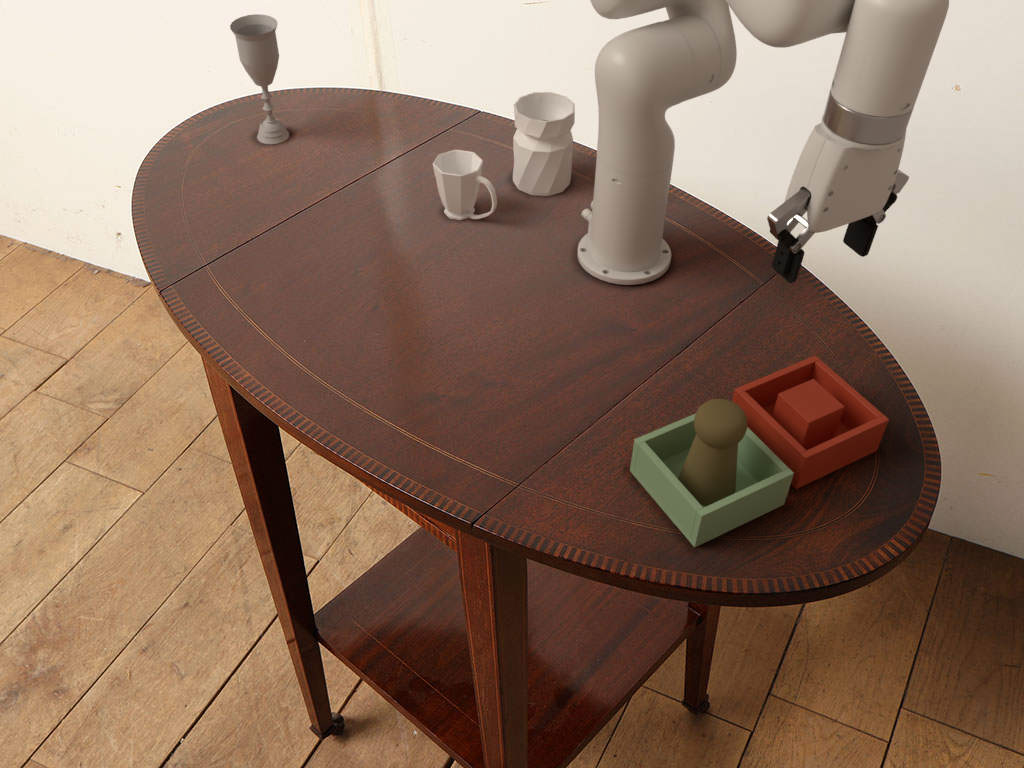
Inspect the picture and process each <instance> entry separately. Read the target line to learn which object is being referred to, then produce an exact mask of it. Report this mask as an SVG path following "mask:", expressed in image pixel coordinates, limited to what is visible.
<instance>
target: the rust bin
mask: <svg viewBox="0 0 1024 768" xmlns="http://www.w3.org/2000/svg"><path fill="white" fill-rule="evenodd" d="M812 379H814V380H815V381H816V382H818V383H819V384H820V385H821V386H822V387H823V388H824V389H825V390H827V391H828V392H829V393H830V394H831V395H832V396H833V397H834V398H836V399H837V400H838V401H839V402H840V403H841V404H842V405H843V406H844V410H843V413H842V416H841V419H840V422H839V425H838V428H837V430H836V433H835V436H834V438H833V439H831V440H828V441H826V442H824V443H822V444H820V445H818V446H815V447H813V448H811V449H809V450H807V451H806V449H805V448H803V447H802V446H801V445H800V444H799V443H798V442H797V441H796V440H795V439H794V438H793V437H792V436H791V435H790V434H789V433H788V432H787V431H786V430H785V429H784V428H783V427H782V426H781V425H780V424H779V423H778V422H777V421H776V420H774V419H773V418H772V415H773V412H774V408H775V404H776V401H777V397H778V394H779V393H781V392H784V391H786V390H788V389H791V388H793V387H795V386H798V385H800V384H802V383H805V382H807V381H809V380H812ZM731 401H733V402H734V403H736V404H738V405H739V406H740V407H741V408H742V409H743V411H744V413H745V415H746V417H747V427H748V428H749V429H750V430H751V431H752V432H753V433H754V434H755V435H756V436H757V437H758V438H759V439H760V440H761V441H762V442H763V443H764V444H765V445H766V446H767V447H768V448H769V449H770V450H771V451H772V452H773V453H774V454H775V455H776V456H777V457H778V458H779V459H780V460H781V461H782V462H783V463H784V464H785V465H786V466H787V467H788V468H789V469H790V470H791V471H792V472H793V473H794V475H793V478H792V481H791V484H790V486H791V487H792V488H793V489H795V490H798V489H800V488H802V487H804V486H807V485H809V484H810V483H812V482H814V481H816V480H817V481H818V480H819V479H821V478H823V477H825V476H827V475H829V474H831V473H833V472H835V471H838V470H840V469H842V468H844V467H846V466H848V465H850V464H852V463H855V462H857V461H859V460H861V459H863V458H865V457H867V456H868V455H871V454H874V453H875V452H878V448H879V446H880V443H881V441H882V438H883V436H884V435H885V434H884V433H885V431H886V428H887V426H888V424H889V421H890V419H889V418H888V416H886V415H885V414H883V413H882V412H881V411H880V410H879V409H878V408H877V407H875V406H874V405H873V404H872V403H871V402H869V400H867V399H866V398H865V397H864V396H863V395H862V394H861V393H859V392H858V391H857V390H856V389H854V388H853V387H852V386H851V385H850V384H849V383H848V382H847V381H846V380H844V379H843V378H842V377H841V376H840V375H839V374H838V373H836V372H835V371H834V370H833V369H832V368H830V366H828V365H827V364H826V363H825V362H824V361H822V360H821V359H820V358H819V357H818V356H817V355H812V356H810V357H809V358H806V359H803V360H801V361H799V362H796V363H794V364H791V365H789V366H786V367H783V368H782V369H779V370H777V371H775V372H774V371H773V372H772V373H770V374H768V375H765V376H763V377H760V378H758V379H755V380H753V381H750V382H749V383H745V384H743V385H741V386H738V387H736V388H735V389H734V391H733V396H732V399H731Z"/></svg>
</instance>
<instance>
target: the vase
mask: <svg viewBox="0 0 1024 768" xmlns="http://www.w3.org/2000/svg"><path fill="white" fill-rule="evenodd" d="M575 105H576V104H575V103H574V102H573V101H572V100H571V99H569V98H568V97H567V96H566V95H562V94H559V93H556V92H553V91H536V92H535V91H534V92H533V91H532V92H531V93H527V94H525V95H521V96H519V97H518V99H516V101H515V102H514V103H513V112H514V113H513V114H514V127H515V128H516V130H515V133H514V134H513V136H512V150H513V151H512V153H513V168H512V169H513V170H512V182H513V184H514V185H515V186H516V188H517V190H518V191H521V192H523V193H526V194H528V195H530V196H539V197H550V196H553V195H557V194H561V193H563V192H564V191H565V190H566V189H567V188H568V187H569V186H570V183H571V179H572V169H573V147H574V146H573V145H574V138H573V137H574V136H573V133H572V129H573V127H574V125H575V123H576V122H575V119H576V117H575V115H576V112H575V111H576V110H575V107H576V106H575Z"/></svg>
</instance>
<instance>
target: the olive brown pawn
mask: <svg viewBox="0 0 1024 768" xmlns="http://www.w3.org/2000/svg"><path fill="white" fill-rule="evenodd" d="M694 414H695V417H694V428H695V432H696V436H695V438H694V441H693V443H692V445H691V448H690V450H689V453H688V455H687V458H686V460H685V463H684V465H683V467H682V470H681V472H680V475H679V477H678V480H679V481H680V482H681V483H682V484H683V485H684V487H685V488H686V489H687V490H688V491H689V492H690V493H691V494H692V496H693V497H694V498H695V499H696V500H697V501H698V502H699V503H700V505H702V506H709V505H711V504H713V503H715V502H717V501H719V500H721V499H724V498H726V497H728V496H730V495H732V494H734V493H735V489H736V472H737V455H738V443H739V442H740V441H741V440H742V439H743V437H744V435H745V433H746V430H747V417H746V415H745V413H744V411H743V409H742V408H741V407H740V406H739V405H738V404H736V403H734V402H733V401H732V400H730V399H726V398H712V399H709V400H707V401H705V402H704V403H702V404H701V405H700V406H699V407H698V409H697V410H696V412H695V413H694Z"/></svg>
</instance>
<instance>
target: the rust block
mask: <svg viewBox="0 0 1024 768" xmlns="http://www.w3.org/2000/svg"><path fill="white" fill-rule="evenodd" d="M843 410H844V406H843V405H842V404H841V403H840V402H839V401H838V400H837V399H836V398H834V397H833V396H832V395H831V394H830V393H829V392H828V391H827V390H825V389H824V388H823V387H822V386H821V385H820V384H819V383H818V382H816V381H815V380H814V379H812V380H809V381H807V382H805V383H802V384H800V385H798V386H795V387H793V388H791V389H788V390H786V391H784V392H781V393H779V394H778V397H777V401H776V404H775V408H774V412H773V415H772V418H773V419H774V420H776V421H777V422H778V423H779V424H780V425H781V426H782V427H783V428H784V429H785V430H786V431H787V432H788V433H789V434H790V435H791V436H792V437H793V438H794V439H795V440H796V441H797V442H798V443H799V444H800V445H801V446H802V447H803V448H805V449H806V451H807V450H809V449H811V448H813V447H815V446H818V445H820V444H822V443H824V442H826V441H828V440H831V439H833V438H834V436H835V433H836V430H837V428H838V425H839V422H840V419H841V416H842V413H843Z"/></svg>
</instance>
